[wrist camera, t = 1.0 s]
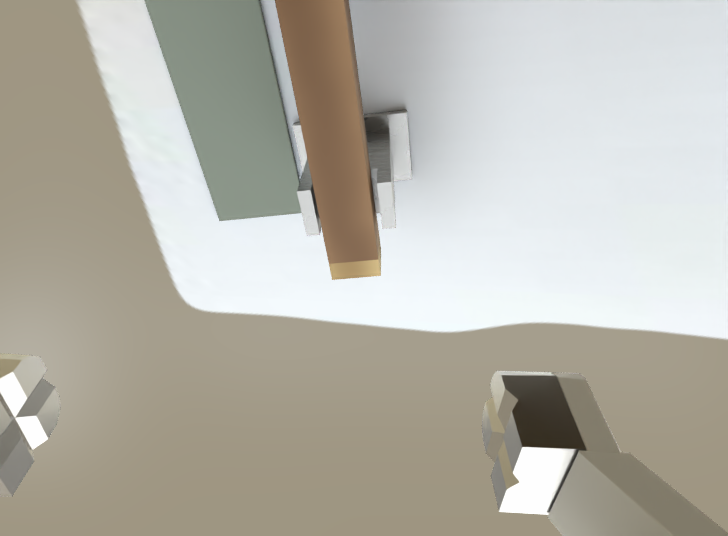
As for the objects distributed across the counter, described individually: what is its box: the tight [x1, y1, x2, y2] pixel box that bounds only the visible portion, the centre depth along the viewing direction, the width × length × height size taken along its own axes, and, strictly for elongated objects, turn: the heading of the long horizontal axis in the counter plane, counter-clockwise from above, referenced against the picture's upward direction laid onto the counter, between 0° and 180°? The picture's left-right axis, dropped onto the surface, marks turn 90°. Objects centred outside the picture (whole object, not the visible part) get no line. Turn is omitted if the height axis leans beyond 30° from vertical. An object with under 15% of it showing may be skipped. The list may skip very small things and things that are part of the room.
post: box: [293, 110, 412, 236], centre depth 33 cm, size 8×5×9 cm, turn 97°
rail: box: [275, 0, 381, 280], centre depth 26 cm, size 3×21×3 cm, turn 7°
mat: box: [145, 0, 302, 221], centre depth 33 cm, size 7×22×1 cm, turn 7°
